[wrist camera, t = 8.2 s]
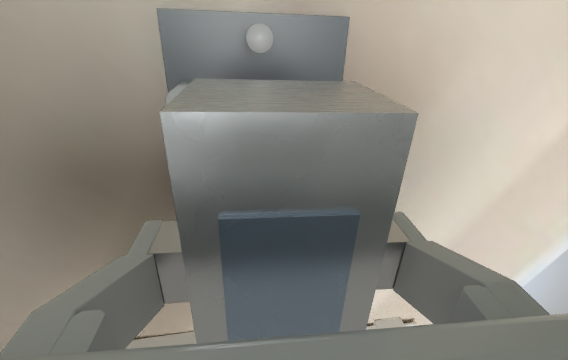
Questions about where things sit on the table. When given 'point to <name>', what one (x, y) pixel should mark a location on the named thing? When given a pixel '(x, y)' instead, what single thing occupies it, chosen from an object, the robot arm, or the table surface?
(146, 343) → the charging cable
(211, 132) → the block
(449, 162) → the table surface
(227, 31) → the peg board
